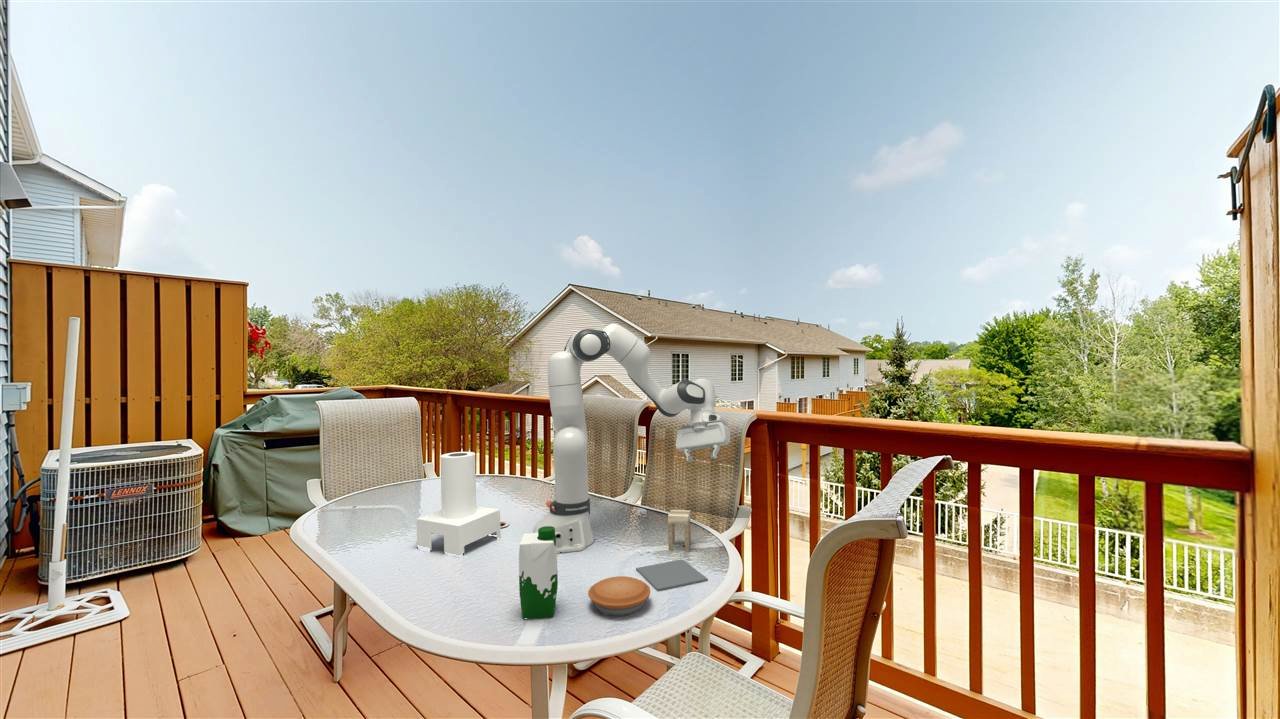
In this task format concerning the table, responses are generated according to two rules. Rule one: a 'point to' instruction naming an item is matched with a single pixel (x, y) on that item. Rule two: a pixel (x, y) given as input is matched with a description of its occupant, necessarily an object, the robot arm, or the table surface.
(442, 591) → the table surface
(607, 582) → the pie
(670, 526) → the stool
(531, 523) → the table surface
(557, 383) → the robot arm
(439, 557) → the table surface
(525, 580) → the milk carton
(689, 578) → the mat
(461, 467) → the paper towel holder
